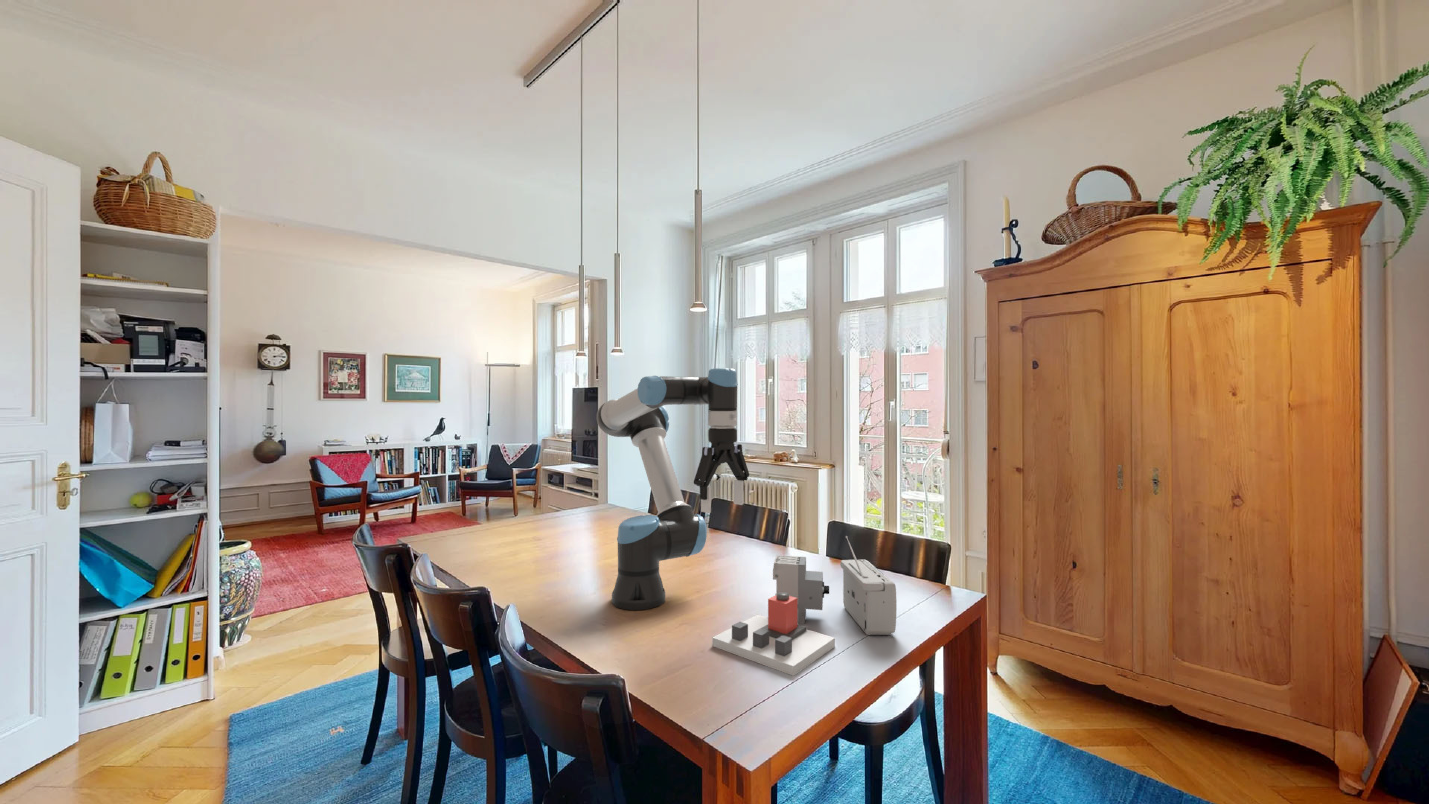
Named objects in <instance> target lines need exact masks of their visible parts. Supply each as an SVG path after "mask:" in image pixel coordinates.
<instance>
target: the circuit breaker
mask: <svg viewBox="0 0 1429 804" xmlns="http://www.w3.org/2000/svg"><path fill="white" fill-rule="evenodd" d="M823 574H824V573H823V571H817V570H807V557H806V556H798V555H797V556H796V555H795V556H794V555H778V554H776V556H775V559H774V563H773V569H772V580H774V581H775V580H776V581H775V582H776V583H775V586H776V593H775V595H776V594H777V593H779V592H786V593H788V594H789V596H792V597H796V598H797V624H805V622H806V616H807V610H814V611H816V610H817V611H823V606H824V605H823V604H824V602H823V601H824V598H825V595H830V585H825V581H823V580H824V575H823ZM775 595H774V596H775Z"/></svg>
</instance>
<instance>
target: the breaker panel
mask: <svg viewBox="0 0 1429 804" xmlns="http://www.w3.org/2000/svg"><path fill="white" fill-rule="evenodd" d="M711 644H712V647H714V648H717V649H720V650H723V651H725V652H727V653H730V654H732V655H733V654H734V655H736V656H738V657H741V658H743V659H746V660H748V661H749V660H750V661H752V662H754V663H758V664H760V665H764V666H766V667H767V668H768V667H769V668H771V669H774V670H776V671H780V672H782V673H785V674H787V675H790V676H795V675H797V674H798V673H799V672H801V671H803V670H804V669H805V668H807V667H808V666H809V665H811V664H812V663H813V662H815V661H816V660H818V659H819V658H820V657H822V656H824V655H825V654H827V653H828V652H829V651H831V650H832V649H833V648H835V647H836V638H835V637H834V636H830V635H826V634H823V633H820V632H818V631H817V632H816V631H814V630H810V629H807V626H804V625H800V624H799V623H797V628H795V629H794V630H792V631H790V632H789V633H787V634H784V633H781V632H778V631H775V630H772V629H768V616H763V615H760V614H756V615H754V616H752V617H749V618H748V619H746V620H744V621H737V622H735V623H734V624H732V625H731V627H730V628H728V629H726V630H724V631H722V632H720V633H719V634H716V635H715V636H713V637H712V643H711Z"/></svg>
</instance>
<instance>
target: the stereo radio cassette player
mask: <svg viewBox="0 0 1429 804" xmlns="http://www.w3.org/2000/svg"><path fill="white" fill-rule="evenodd" d="M845 539H847V543H848V546H849V548H850V551H851V554H852V557H853V559H842V560H840V568H841V569H842V571H843V573H842V574H843V575H842V576H843V579H842V580H843V581H842V582H843V587H842V588H843V589H842V591H843V592H842V595H843V597H842V598H843V599H842V600H843V607H844V608H845V610H846V611H847V612H848V613H849V615H850V616H851V617H852V618H853V620H854V621H855V622H856V624H858V626H859V627H860V628H861V630H862V631H863V632H864V633H865V634H866V635H867V636H871V635H874V636H880V635H881V636H882V635H887V636H889V635H890V636H891V635H892V634H893V633H894V634H895V633H896V626H897V587H896V584H895V582H894V581H893V580H891V579H890V578H889V577H887V575H885V574H884V573H883V572H881V571H880V569H878V568H877V567H876V566H875V565H874V564H872V563H871V562H870V561H869V560H866V559H857V557H856V555H855V552H854V550H853V548H852V546H851V543H850V541H849V539H848V536H847V535H845Z"/></svg>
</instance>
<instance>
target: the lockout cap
mask: <svg viewBox="0 0 1429 804" xmlns="http://www.w3.org/2000/svg"><path fill="white" fill-rule="evenodd" d="M775 594H776V593H775ZM767 618H768V629H772V630H775V631H778V632H781V633H784V634H787V633H789V632H790V631H792V630H794V629H795V628H797V624H798V623H797V598H796V597H792V596H789V594H788V593H786V592H779V593H777V594H776V595H773V596H771V597H770V598H767Z"/></svg>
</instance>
